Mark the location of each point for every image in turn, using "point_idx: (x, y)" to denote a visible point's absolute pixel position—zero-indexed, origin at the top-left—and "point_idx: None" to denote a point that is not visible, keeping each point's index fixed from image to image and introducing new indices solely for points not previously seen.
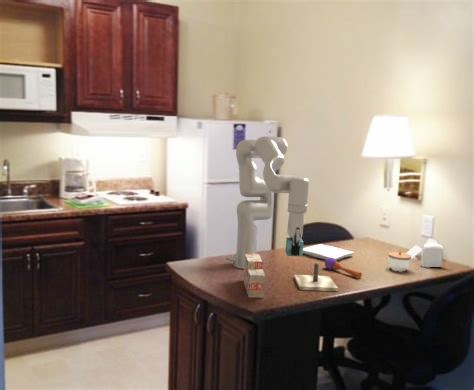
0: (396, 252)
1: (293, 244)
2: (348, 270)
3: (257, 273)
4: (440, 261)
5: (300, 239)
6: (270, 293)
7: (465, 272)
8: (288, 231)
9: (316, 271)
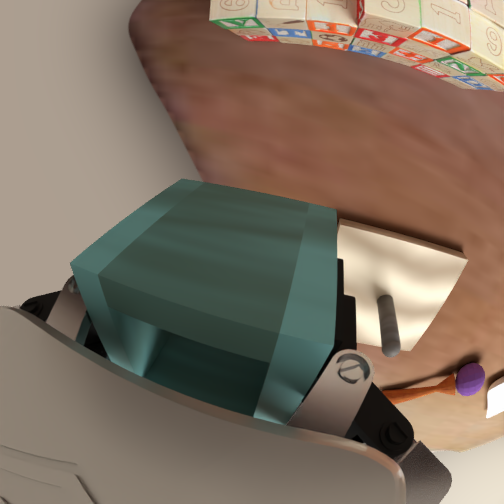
0: None
1: (72, 280)
2: (413, 394)
3: None
4: None
5: None
6: (302, 79)
7: None
8: (76, 445)
9: (380, 328)
